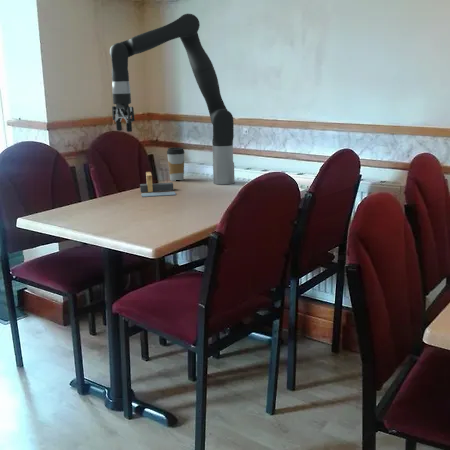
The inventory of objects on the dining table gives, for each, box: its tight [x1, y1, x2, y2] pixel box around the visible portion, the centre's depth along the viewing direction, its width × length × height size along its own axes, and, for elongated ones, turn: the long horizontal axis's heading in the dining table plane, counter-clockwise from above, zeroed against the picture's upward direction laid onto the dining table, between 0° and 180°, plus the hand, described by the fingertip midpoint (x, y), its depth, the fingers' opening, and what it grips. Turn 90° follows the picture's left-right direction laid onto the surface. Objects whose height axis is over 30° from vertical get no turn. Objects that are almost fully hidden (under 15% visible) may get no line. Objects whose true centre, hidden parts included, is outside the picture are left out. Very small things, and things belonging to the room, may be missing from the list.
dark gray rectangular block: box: [139, 181, 174, 193], centre depth 248 cm, size 14×4×3 cm, turn 100°
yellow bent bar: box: [145, 171, 154, 193], centre depth 248 cm, size 2×10×7 cm, turn 10°
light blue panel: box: [140, 191, 177, 198], centre depth 239 cm, size 14×6×1 cm, turn 100°
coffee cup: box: [166, 147, 185, 182], centre depth 270 cm, size 8×8×15 cm
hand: (124, 131), depth 246 cm, fingers open, 8 cm apart
